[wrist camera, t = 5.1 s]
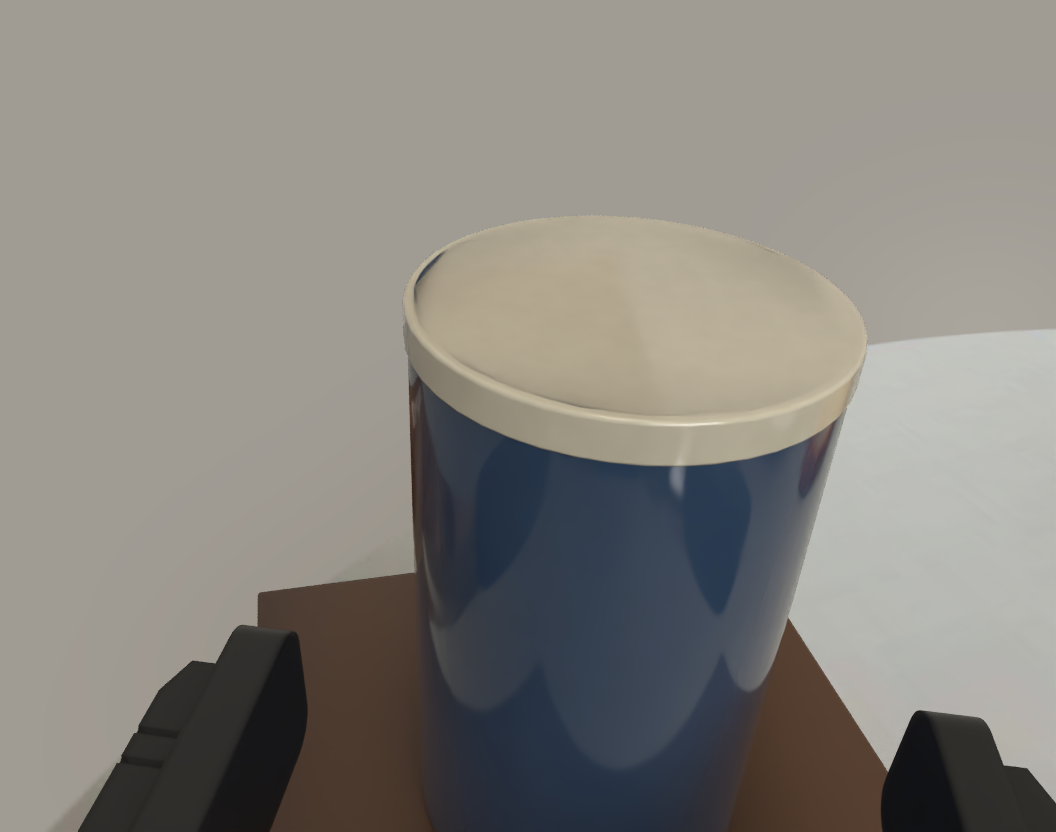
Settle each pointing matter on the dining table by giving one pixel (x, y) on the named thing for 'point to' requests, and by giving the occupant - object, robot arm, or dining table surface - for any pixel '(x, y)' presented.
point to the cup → (610, 512)
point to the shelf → (394, 745)
